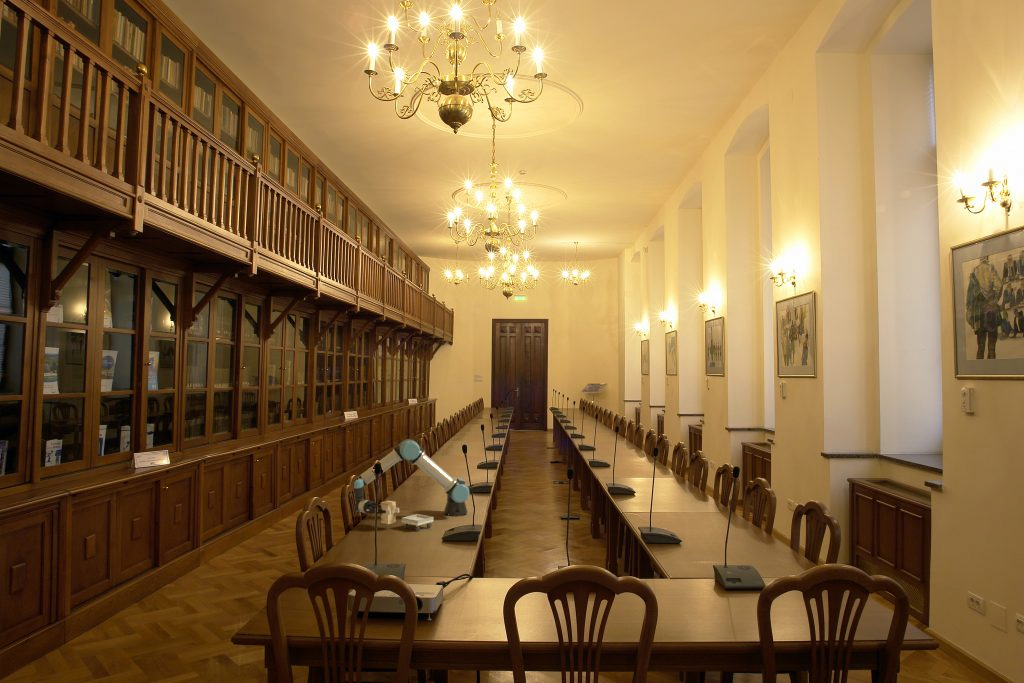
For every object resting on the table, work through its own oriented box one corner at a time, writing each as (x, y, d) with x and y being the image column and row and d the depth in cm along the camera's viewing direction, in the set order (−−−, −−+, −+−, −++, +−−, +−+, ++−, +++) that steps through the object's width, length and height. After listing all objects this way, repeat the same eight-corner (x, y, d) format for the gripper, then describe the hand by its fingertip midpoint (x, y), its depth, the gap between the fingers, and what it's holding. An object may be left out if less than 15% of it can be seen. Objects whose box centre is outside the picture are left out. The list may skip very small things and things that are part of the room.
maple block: (388, 520, 396) (388, 500, 397) (395, 522, 393) (395, 501, 393) (381, 522, 391) (381, 502, 392) (388, 524, 388) (388, 503, 388)
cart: (417, 524, 404) (417, 513, 404) (433, 527, 396) (433, 516, 396) (401, 528, 393) (401, 517, 393) (417, 531, 385) (417, 520, 386)
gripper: (379, 510, 410) (406, 515, 397) (355, 515, 395) (382, 521, 382) (379, 498, 411) (406, 502, 397) (355, 503, 395) (382, 507, 382)
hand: (394, 511), depth 389 cm, fingers closed on maple block, 6 cm apart
